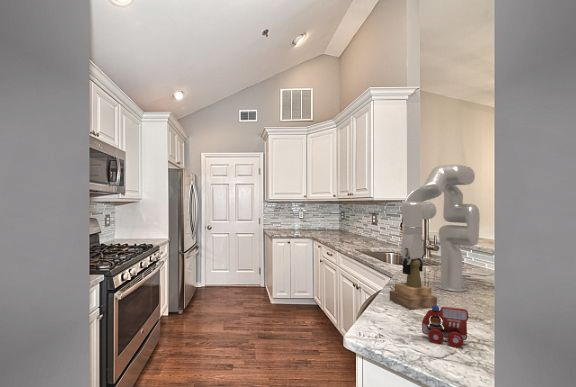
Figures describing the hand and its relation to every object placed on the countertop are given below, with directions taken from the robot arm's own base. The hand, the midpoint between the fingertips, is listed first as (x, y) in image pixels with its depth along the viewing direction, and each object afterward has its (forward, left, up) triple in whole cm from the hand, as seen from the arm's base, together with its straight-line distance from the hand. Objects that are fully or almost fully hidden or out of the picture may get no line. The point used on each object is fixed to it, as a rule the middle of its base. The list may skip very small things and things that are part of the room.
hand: (412, 272), depth 130 cm
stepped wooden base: (0, 0, -13) cm, 13 cm away
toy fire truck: (+15, +33, -13) cm, 39 cm away
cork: (0, +1, -6) cm, 6 cm away
